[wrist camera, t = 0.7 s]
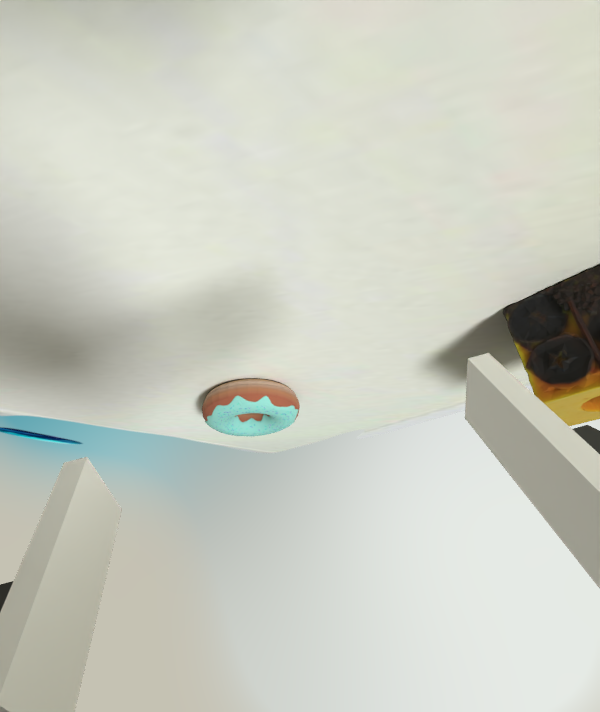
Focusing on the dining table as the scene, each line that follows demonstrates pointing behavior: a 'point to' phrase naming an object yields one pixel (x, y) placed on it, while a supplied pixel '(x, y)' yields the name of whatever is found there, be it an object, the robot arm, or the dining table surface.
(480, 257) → the dining table surface
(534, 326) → the yellow brown cube
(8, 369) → the dining table surface
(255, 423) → the donut
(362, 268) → the dining table surface
